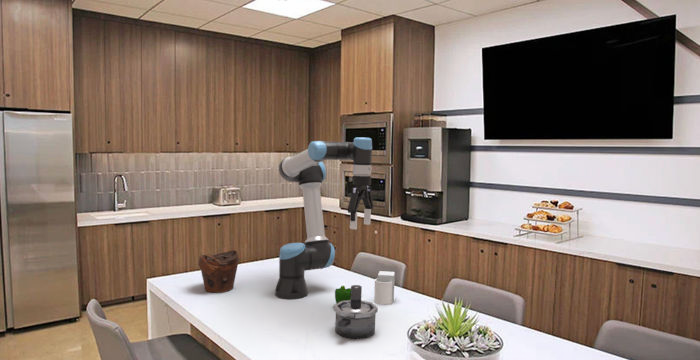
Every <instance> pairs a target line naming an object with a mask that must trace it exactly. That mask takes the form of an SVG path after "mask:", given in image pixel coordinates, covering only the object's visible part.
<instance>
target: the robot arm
mask: <svg viewBox="0 0 700 360" xmlns="http://www.w3.org/2000/svg"><path fill="white" fill-rule="evenodd" d="M372 140H373V139H372V138H370V137H355V138H353V141H352V142H351V141H350V142H349V141H325V140H316V141H315V140H312V141H311V142H310V143H309V145H308V147H307V149H305V150H303V151H301V152H299V153H297V154H295V155H293V156H286V157H285V158H284V159H282V160H281V161H280V162H279V165H278V174H279V175H280V177H281V178H282V179H283V180H285V181H287V182H290V183H298V187H299V188H300V189H301V190H302V198H303V208H304V218H305V228H306V229H305V230H306V236H307V237H306V240H305V241H304V243H303V242H291V243H290V242H289V243H286V244H284V245H282V246H281V247H280V249H279V256H278V258H279V259H278V260H279V261H278V263H279V266H278V267H279V270H278V274H279V276H278V280H277V284H276V287H275V291H274V292H275V293H274V294H275V296H276V297H278V298H280V299H285V300H294V299H302V298H305V297H307V296H308V294H309V293H308V292H309V289H308V287H307V283H306V279H305V271H315V270H322V269H325V268H327V269H328V268H330V267H331V266H332V265H333V264H334V262H335V261H334V260H335V258H336V257H335V256H336V251H335V247H334V245H333V244H332V243H331V242H329V241H330V240H329V238H328V237H327V236H326V232H325V224H324V223H325V222H324V214H323V206H322V205H323V204H322V197H321V196H322V195H321V186H322V185H323V182H324V181H325V179H326V175H327V170H326V169H327V168H326V166H325V164H324V162H325V161H326V160H327V161H328V160H330V161H332V160H336V161H338V160H339V161H340V160H341V161H343V160H344V161H352V163H353V164H352V175H353V176H352V185H354V186H355V187H351V194H350V198H349V202H348V207H347V213H349V214H350V215H349V217H350V218H349V222H350V223H349V229H350V230H357V229H358V208H359V206H360V202H361V201H362V203H363V205H364V210H363V211H364V212H363V225H367V226H368V225H371V220H372V219H371V215H372V213H371V212H372V210H373V209H374V202H373V195H372V186H371V184H372V176H371V175H372V170H373V168H372V158H373V141H372ZM323 161H324V162H323Z"/></svg>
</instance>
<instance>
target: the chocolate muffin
mask: <svg viewBox="0 0 700 360" xmlns="http://www.w3.org/2000/svg"><path fill="white" fill-rule="evenodd" d="M198 258H199V259H198V262H197V265H198V267H199V268H200V272H201V277H202V281H203V286H204V291H206V292H207V293H208V292H209V293H225V292H226V293H227V292H229V291H232V290H233V289H234V285H235V281H236V276H237V270H238V266H239V261H240V258H239V253H238V251H237V250H235V249H233V250H229V251H226V252H225V251H224V252H221V253H217V254H213V255H212V254H200V255H199V257H198Z"/></svg>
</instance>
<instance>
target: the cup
mask: <svg viewBox="0 0 700 360" xmlns="http://www.w3.org/2000/svg"><path fill="white" fill-rule="evenodd" d="M373 294H374V295H373V296H374V297H373V301H374V304H375V305H381V306H389V305H392V304H393V303H392V282H378V277H377V278H375V279H374V293H373Z"/></svg>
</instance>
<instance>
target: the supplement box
mask: <svg viewBox="0 0 700 360" xmlns="http://www.w3.org/2000/svg"><path fill="white" fill-rule="evenodd" d="M395 273H396V271H387V270H386V271H383V270H380V271H378V274H377V278H378V282H392V304H393V302H394V298H395V278H396V277H395V276H396V274H395Z"/></svg>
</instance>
